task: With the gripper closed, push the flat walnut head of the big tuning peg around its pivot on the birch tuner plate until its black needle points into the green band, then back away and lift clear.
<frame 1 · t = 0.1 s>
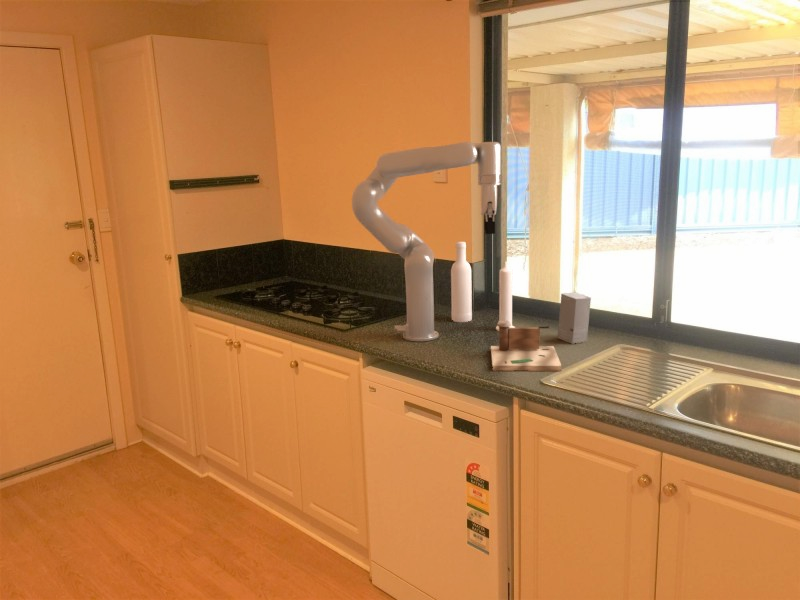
hand: (489, 231, 227), 37 cm above the worktop, tool pointing down, fingers open, 9 cm apart
skincare box: (573, 340, 228), on the worktop
tuning peg: (523, 335, 213), point 6 cm above the worktop, hinge at 0.0°
tuner plate: (524, 360, 208), on the worktop
bottle: (461, 320, 259), on the worktop
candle: (505, 329, 244), on the worktop
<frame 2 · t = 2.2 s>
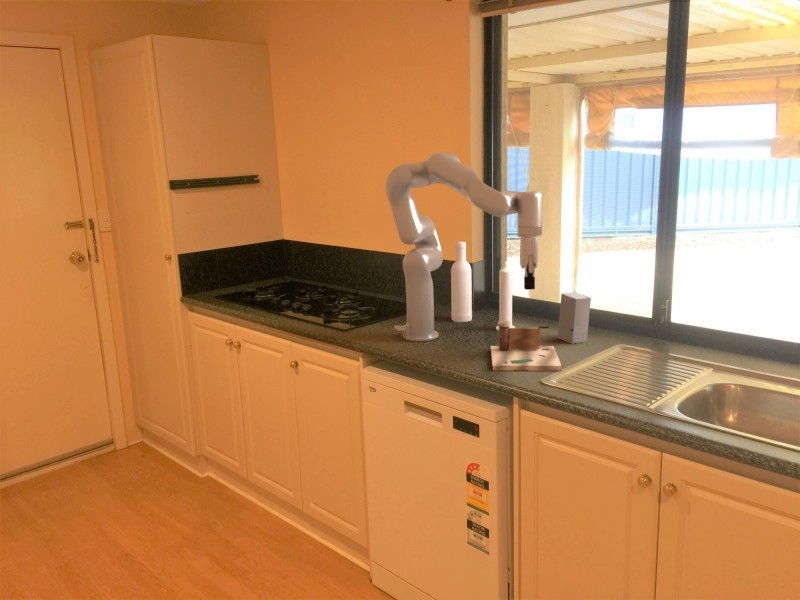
hand: (529, 288, 215), 20 cm above the worktop, tool pointing down, fingers closed
nothing on the worktop moved.
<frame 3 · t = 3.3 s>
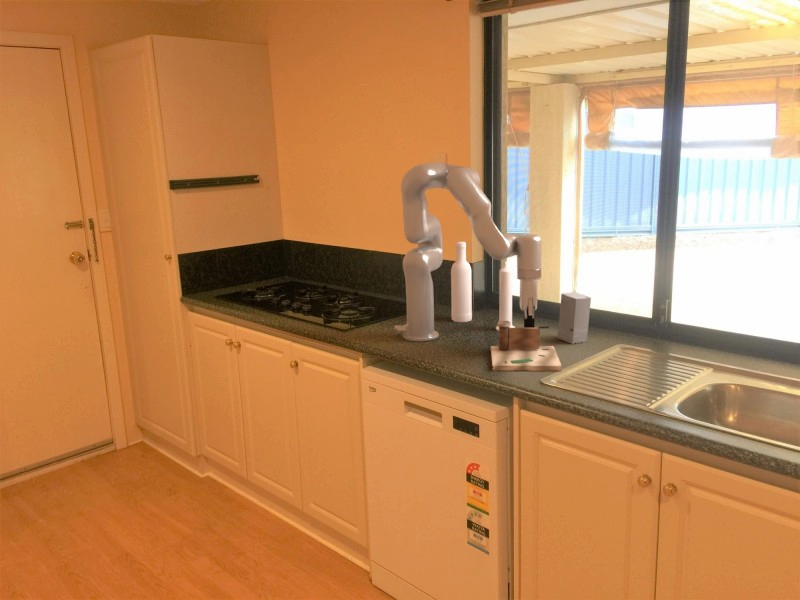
hand: (529, 329, 218), 7 cm above the worktop, tool pointing down, fingers closed
nothing on the worktop moved.
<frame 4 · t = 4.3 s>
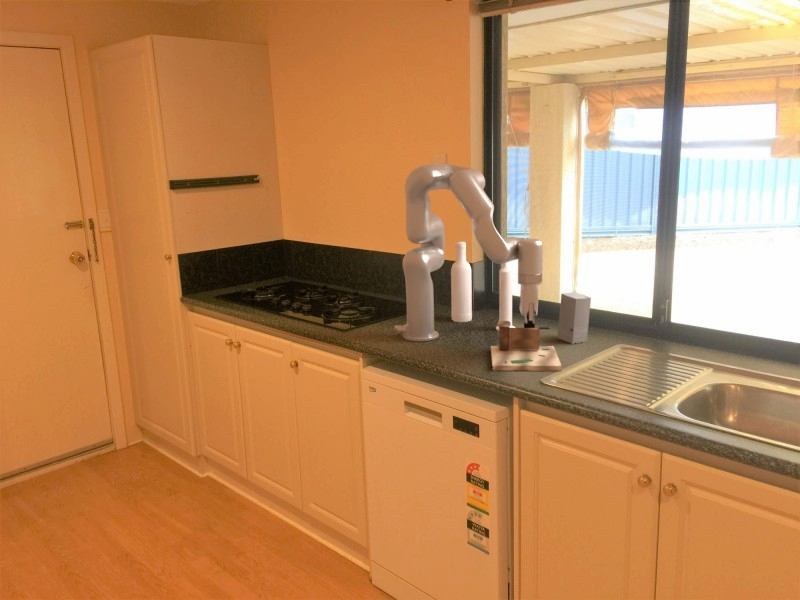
hand: (529, 335, 215), 6 cm above the worktop, tool pointing down, fingers closed
tuning peg: (523, 336, 212), point 6 cm above the worktop, hinge at 4.6°, touching gripper
everything else where it was.
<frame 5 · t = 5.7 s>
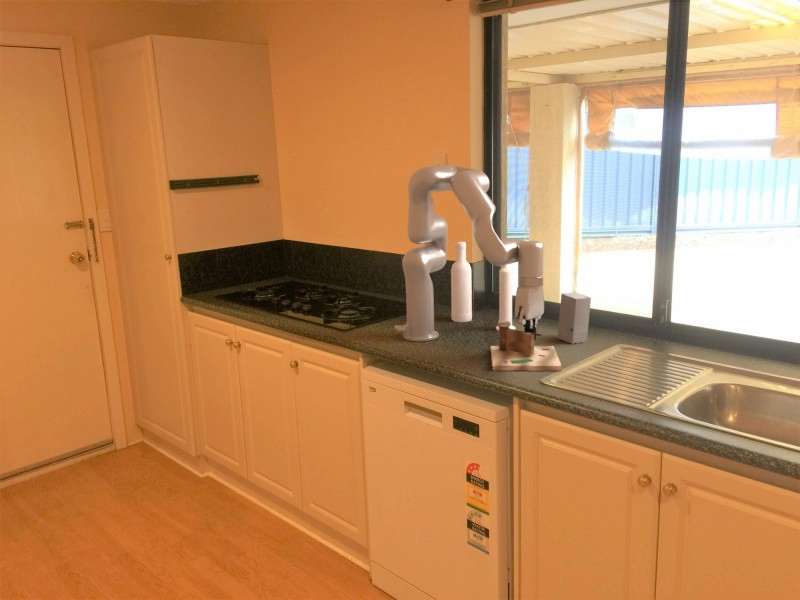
hand: (530, 339, 210), 6 cm above the worktop, tool pointing down, fingers closed
tuning peg: (519, 339, 209), point 6 cm above the worktop, hinge at 41.0°, touching gripper
everything else where it was.
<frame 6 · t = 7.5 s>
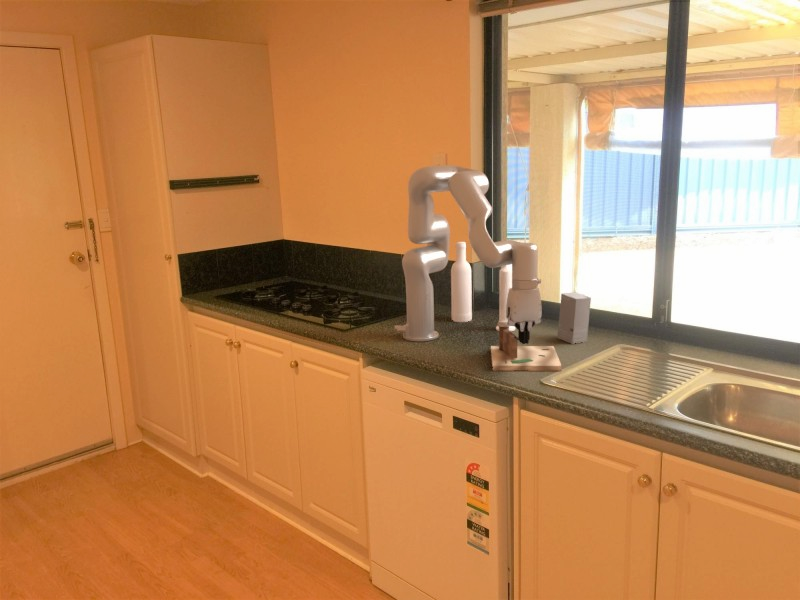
hand: (523, 342, 207), 6 cm above the worktop, tool pointing down, fingers closed
tuning peg: (509, 340, 208), point 6 cm above the worktop, hinge at 75.5°
everything else where it was.
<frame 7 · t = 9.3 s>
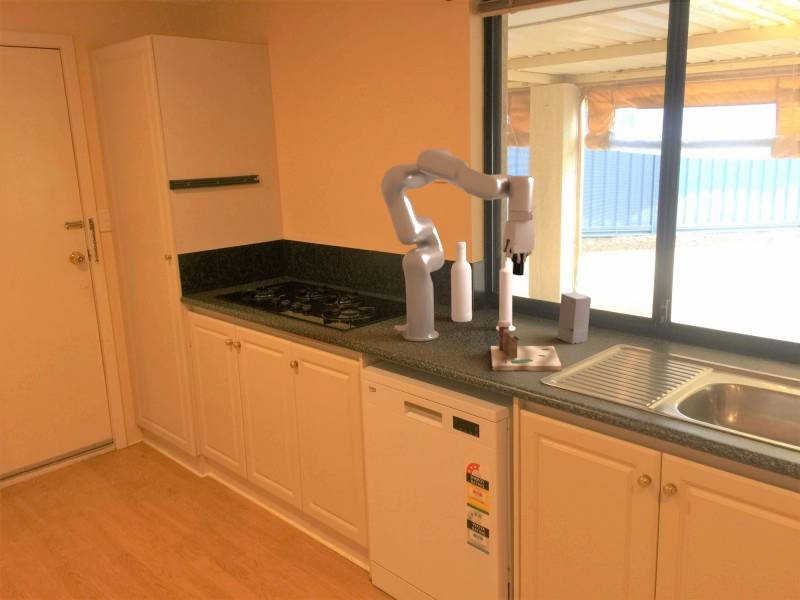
hand: (517, 274, 212), 25 cm above the worktop, tool pointing down, fingers closed
nothing on the worktop moved.
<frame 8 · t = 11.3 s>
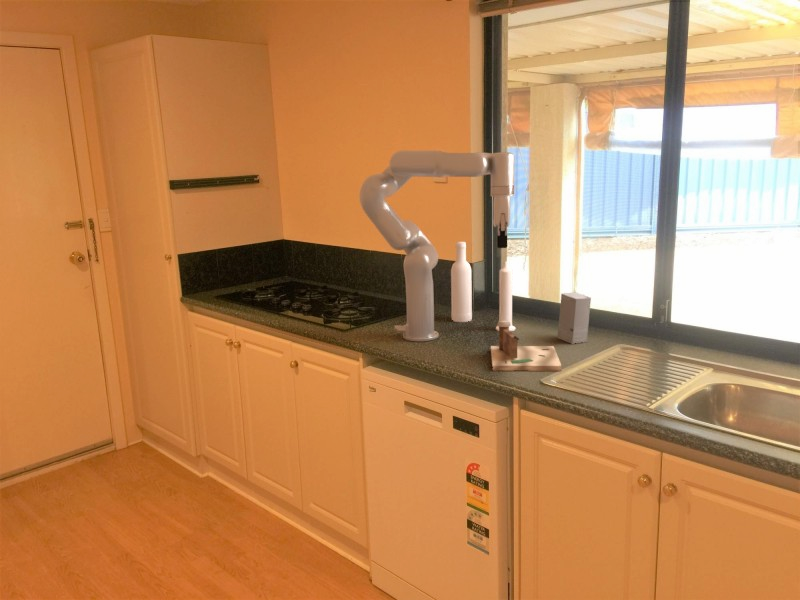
hand: (502, 247, 222), 32 cm above the worktop, tool pointing down, fingers closed
nothing on the worktop moved.
at the end: tuning peg at +76° (first picture: +0°); skincare box moved 0.2 cm from its start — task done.
